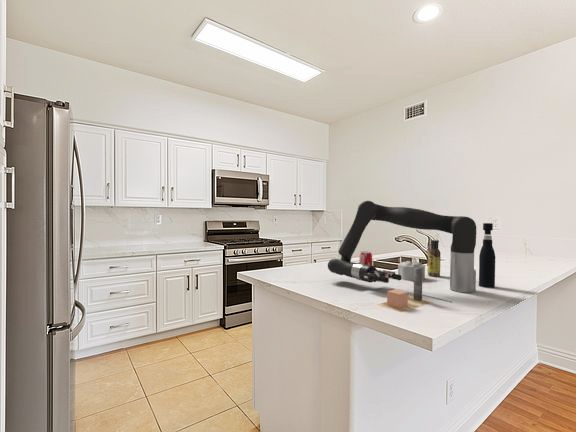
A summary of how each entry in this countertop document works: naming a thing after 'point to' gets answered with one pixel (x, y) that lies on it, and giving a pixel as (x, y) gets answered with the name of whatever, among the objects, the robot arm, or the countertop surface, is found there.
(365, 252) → the soda can
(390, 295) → the terracotta block
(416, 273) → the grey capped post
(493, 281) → the wine bottle
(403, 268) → the lumpy-topped squat cylinder
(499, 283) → the countertop surface
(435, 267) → the sauce bottle
